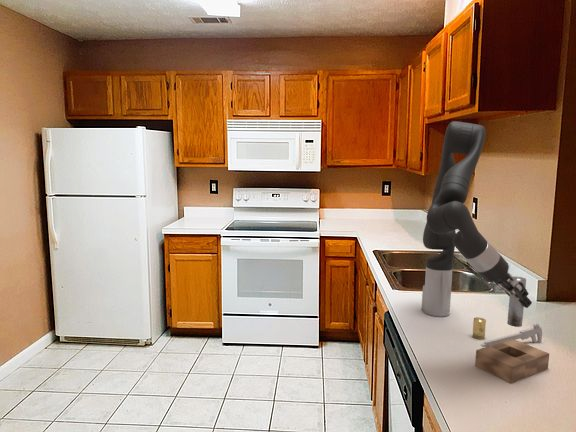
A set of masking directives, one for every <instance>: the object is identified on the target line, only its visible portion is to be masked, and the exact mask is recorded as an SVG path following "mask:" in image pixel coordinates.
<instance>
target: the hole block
mask: <svg viewBox="0 0 576 432" xmlns="http://www.w3.org/2000/svg"><path fill="white" fill-rule="evenodd" d="M474 360H475V363H474V366H476V367H478V368H480V369H481V370H484V371H486V372H487V373H490V374H492V375H493V376H496V377H498V378H500V379H502V380H504V381H506V382H508V383H510V384H514V383H516V382H519V381H521V380H524V379H527V378H528V377H531V376H534V375H537V374H538V373H541V372H543V371H547V370H548V369H549V362H550V353H549V352H547V351H544V350H541V349H539V348H537V347H534V346H531V345H529V344H527V343H524V342H522V341H519V340H518V339H516V340H515V339H509V340H506V341H503V342H500V343H497V344H494V345H490V346H484V347H482V348H481V347H480V348H479V349H476V350H475V359H474Z"/></svg>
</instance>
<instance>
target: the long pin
mask: <svg viewBox="0 0 576 432" xmlns="http://www.w3.org/2000/svg"><path fill="white" fill-rule="evenodd" d="M513 277H514V280H515V281H516V282H517V283H518V282H522V283H523V285H524V286H525V288H526V289H527V287H526V286H527V285H526V284H527V278H526V277H523V276H513ZM512 288H513V287H512ZM512 288H511V289H512ZM511 289H510V290H511ZM515 294H516V293H515ZM508 299H509V301H508V312H507V321H506V323H507V325H509V326H511V327H516V328H521V327H522V326H523V319H524V318H523V317H524V311H525V310H524V308H525V307H524V306H523V305H522V304H521V303H520V302H519V301H518V300H517V299H516V298H515V297H514V296H513V295H511V294H510V297H509V298H508Z"/></svg>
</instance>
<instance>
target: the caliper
mask: <svg viewBox="0 0 576 432" xmlns="http://www.w3.org/2000/svg"><path fill="white" fill-rule="evenodd" d="M532 325H533V327H530V328H526V329H522V330H519V332H515V333H513V334H508V335H505V336H500V337H497V338H493V339H490V340H485V341H484V342H483V343H481V344H480V346H481V347H482V348H484V347H487V346H490V345H494V344H497V343H500V342H503V341H506V340H509V339H515V340H519V339H521V340H522V341H524V340H527V339H531V340H532V342H533V343H537V342H538V343H541V342H542V341H543V340H542V339H543V331H542V330H543V329H542V326H540V324H539V323H536V324H532Z"/></svg>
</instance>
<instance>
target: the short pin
mask: <svg viewBox="0 0 576 432" xmlns="http://www.w3.org/2000/svg"><path fill="white" fill-rule="evenodd" d="M486 322H487V320H486V319H485V318H484V317H479V316H478V317H474V318H473V322H472V323H473V324H472V325H473V326H472V338H474V339H475V340H485V338H486V337H485V336H486V325H487V323H486Z"/></svg>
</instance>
